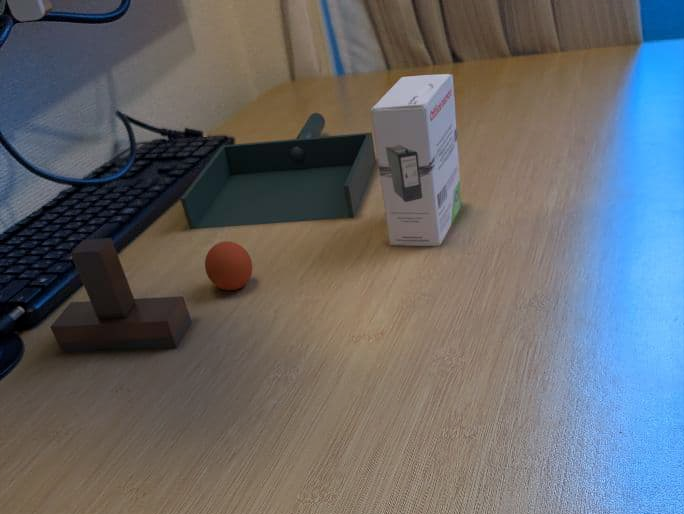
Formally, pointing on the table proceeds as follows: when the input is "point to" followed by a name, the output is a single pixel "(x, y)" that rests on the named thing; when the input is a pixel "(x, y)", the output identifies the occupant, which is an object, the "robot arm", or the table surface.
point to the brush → (116, 309)
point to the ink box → (418, 159)
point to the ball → (228, 265)
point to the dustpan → (282, 180)
